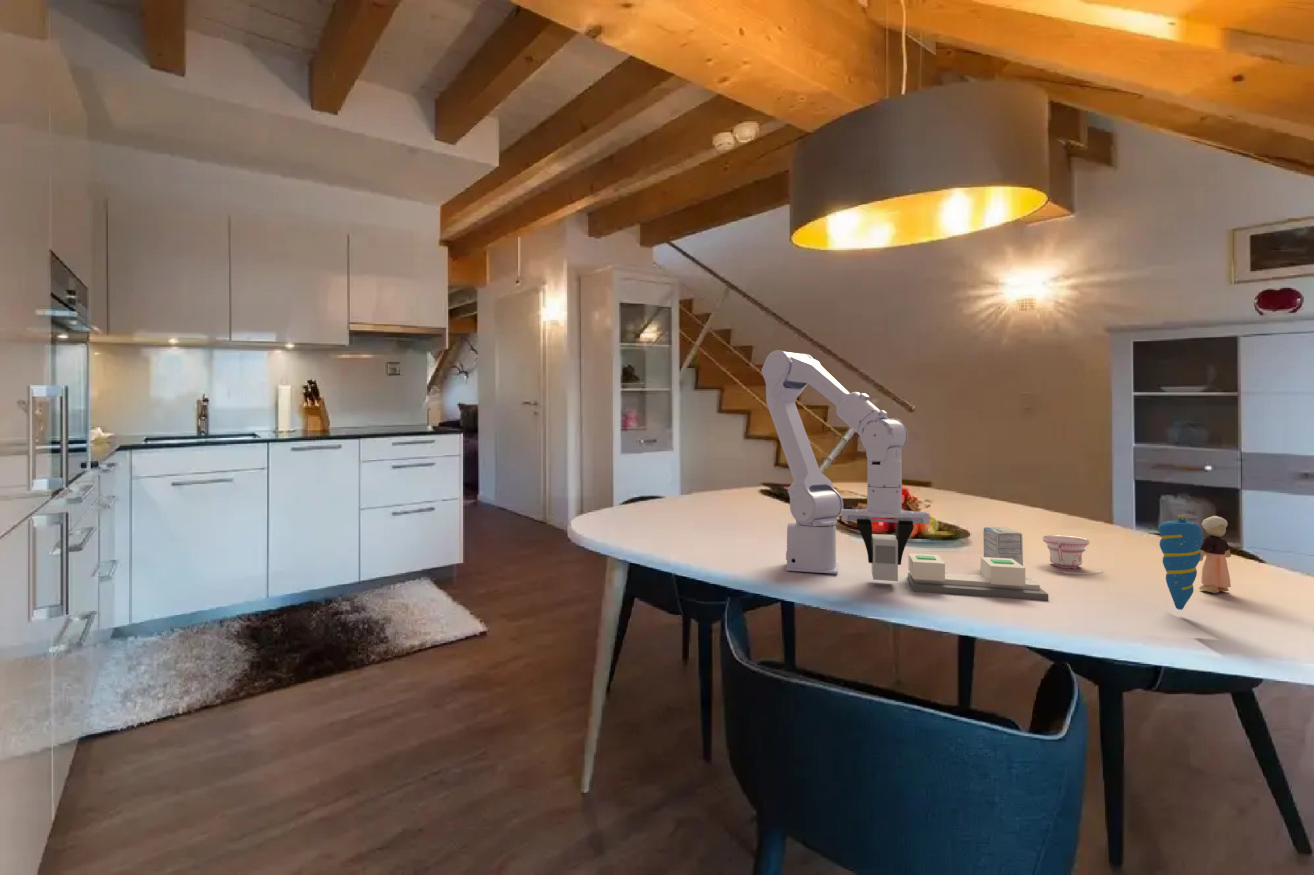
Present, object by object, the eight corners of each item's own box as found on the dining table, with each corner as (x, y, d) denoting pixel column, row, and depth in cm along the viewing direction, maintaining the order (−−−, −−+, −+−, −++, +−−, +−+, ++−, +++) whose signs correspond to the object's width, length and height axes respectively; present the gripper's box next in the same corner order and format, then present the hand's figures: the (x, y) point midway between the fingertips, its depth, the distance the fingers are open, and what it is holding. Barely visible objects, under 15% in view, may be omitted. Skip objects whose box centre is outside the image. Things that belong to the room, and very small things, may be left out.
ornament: (1149, 605, 93) (1149, 509, 93) (1179, 604, 94) (1179, 508, 94) (1181, 615, 88) (1181, 513, 88) (1213, 614, 89) (1213, 512, 89)
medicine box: (1023, 580, 110) (1023, 533, 110) (997, 579, 111) (997, 532, 111) (1007, 571, 118) (1007, 527, 118) (983, 570, 119) (982, 526, 119)
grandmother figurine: (1220, 595, 99) (1219, 518, 99) (1191, 589, 103) (1191, 516, 103) (1240, 589, 103) (1240, 515, 103) (1211, 584, 106) (1211, 513, 106)
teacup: (1040, 560, 128) (1040, 531, 128) (1109, 569, 119) (1109, 538, 119) (1023, 569, 120) (1023, 538, 120) (1097, 579, 111) (1097, 546, 111)
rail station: (913, 591, 102) (913, 561, 102) (907, 577, 112) (907, 551, 112) (1048, 600, 96) (1048, 569, 96) (1029, 585, 106) (1029, 557, 106)
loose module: (873, 579, 104) (873, 539, 104) (871, 572, 110) (871, 534, 110) (897, 581, 103) (897, 540, 103) (894, 573, 109) (895, 535, 109)
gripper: (841, 487, 105) (841, 564, 105) (932, 489, 100) (931, 570, 101) (841, 484, 112) (841, 557, 112) (926, 486, 107) (926, 561, 107)
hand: (884, 562), depth 107 cm, fingers closed on loose module, 4 cm apart
